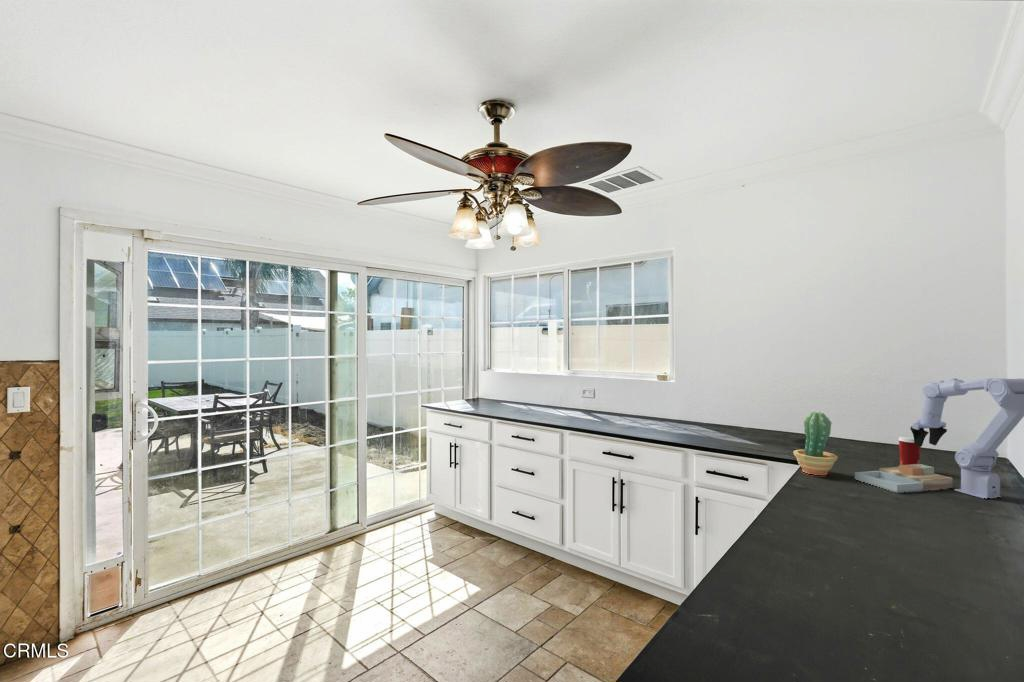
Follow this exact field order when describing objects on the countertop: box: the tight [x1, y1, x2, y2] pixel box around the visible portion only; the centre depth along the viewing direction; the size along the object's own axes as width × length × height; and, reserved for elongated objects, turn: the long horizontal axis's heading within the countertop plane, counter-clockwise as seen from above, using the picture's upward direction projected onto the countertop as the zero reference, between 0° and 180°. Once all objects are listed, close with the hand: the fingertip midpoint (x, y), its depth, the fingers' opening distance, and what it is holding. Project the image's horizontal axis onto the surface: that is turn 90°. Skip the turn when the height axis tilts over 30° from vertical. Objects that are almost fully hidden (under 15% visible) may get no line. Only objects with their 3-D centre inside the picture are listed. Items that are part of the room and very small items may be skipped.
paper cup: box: [897, 435, 922, 465], centre depth 196 cm, size 8×8×14 cm
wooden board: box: [878, 466, 953, 492], centre depth 179 cm, size 16×14×4 cm
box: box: [854, 470, 924, 494], centre depth 176 cm, size 16×12×3 cm
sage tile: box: [910, 463, 935, 475], centre depth 179 cm, size 5×5×2 cm
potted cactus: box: [792, 411, 839, 475], centre depth 191 cm, size 15×15×25 cm
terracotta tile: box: [898, 464, 923, 475], centre depth 178 cm, size 5×5×2 cm
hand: (925, 445), depth 186 cm, fingers open, 7 cm apart
